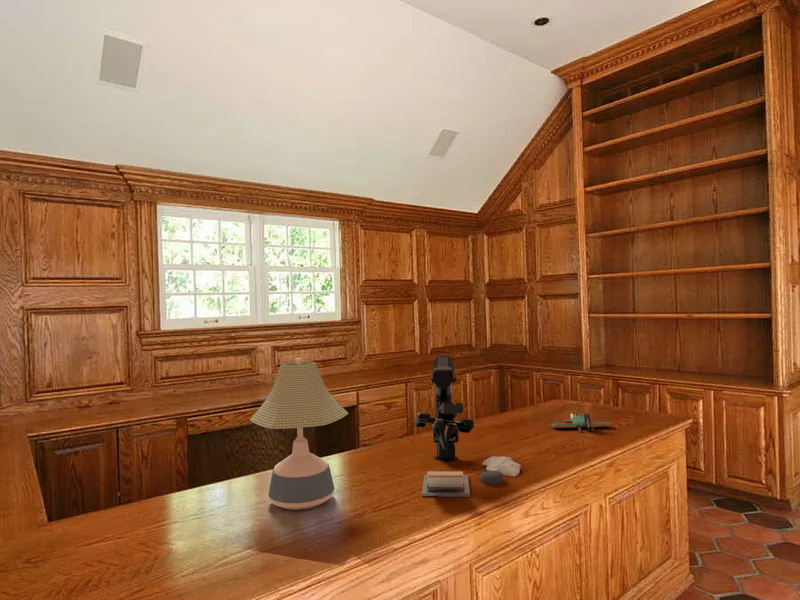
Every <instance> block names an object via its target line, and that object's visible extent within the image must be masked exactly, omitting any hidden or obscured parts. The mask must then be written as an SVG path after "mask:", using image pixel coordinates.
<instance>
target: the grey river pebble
mask: <svg viewBox="0 0 800 600" xmlns="http://www.w3.org/2000/svg"><path fill="white" fill-rule="evenodd" d="M480 482H481V484H484V485H486V486H492V485H495V486H500V485H502V484H503V483H504V475H503V474H502V473H501V472H497V471H488V470H486V471H483V472H481V473H480Z"/></svg>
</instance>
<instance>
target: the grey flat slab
mask: <svg viewBox="0 0 800 600" xmlns="http://www.w3.org/2000/svg"><path fill="white" fill-rule="evenodd" d="M427 483H428V477H427V474H424V475H423V480H422V488H421V489H422V490H421V497H422V496H427V497H426V498H429V497H428V496H438V497H439V498H440V497H442V496H443V497H444V498H446V497H447V498H449V497H450V498H451V497H452V498H453V497H454V498H461V497H462V498H463V497H464V498H470V497H471V489H470V482H469V474H463V483H464V489H427ZM438 497H437V498H438ZM443 497H442V498H443Z"/></svg>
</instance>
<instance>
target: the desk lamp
mask: <svg viewBox="0 0 800 600" xmlns="http://www.w3.org/2000/svg"><path fill="white" fill-rule="evenodd" d="M347 415H349V412H348V411H347V410H346V409H345V408H344V407H343V406H342V405H341V404H340V403H339V402H338V401H337V400H336V399H335V398H334V397H333V395H332V394H331V393H330V391H329V389H328V388H327V386H326V384H325V383H324V381H323V379H322V376H321V373H320V371H319V369H318V366H317V363H316V362H314V361H308V360H307V361H306V360H305V361H302V358H301V357H296V358H294V361H290V362H284V363H280V366H279V369H278V373H277V375H276V377H275V381H274V384H273V386H272V389H271V391H270V392H269V394H268V396H267V397H266V399H265V400H264V402H263V403H262V404H261V406H260V407H259V408H258V409H257V410H256V411H255V413H254V414H253V415H252V416H251V417H250V419H249V421H250V422H252V423H253V424H255V425H258V426H260V427H263V428H266V429H270V430H280V429H281V430H286V429H287V430H288V429H297V433H296V434H297V437H295V439H294V440H293V442H292V450H291V452H292V453H291V454H290V455H288V456H287V457H285V458H284V459H283V460H281V461H280V462H278V463H277V464H276V465H274V468H273V469H272V470H271V471H272V473H271V477H270V484H269V489H268V498H269V499H268V501H269V502H270V503H272V504H273V505H274V506H277V507H280V508H282V509H286V510H290V511H302V510H301V509H304V510H309V509H312V508H316V507H318V506H320V505H322V504H323V503H325V502H327V501H328V500H330V499H331V498H333V497H332V496H333V495H335V489H336V488H335V486H334V485H335V484H334V482H333V476H332V473H331V469H330V468H331V467H330V464H329V463H328V461H327V460H326V459H324V458H321V457H319V456H318V455H316V454H315V453H312V452H310V448H309V442H308V439H307V438H306V437H305V436H304V428H313V427H323V426H327V425H329V424H333V423H334V422H337V421H339V420H341V419H342V418H345V417H346V416H347Z"/></svg>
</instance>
